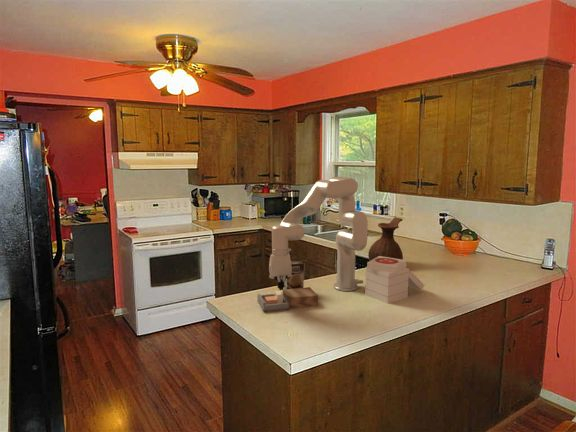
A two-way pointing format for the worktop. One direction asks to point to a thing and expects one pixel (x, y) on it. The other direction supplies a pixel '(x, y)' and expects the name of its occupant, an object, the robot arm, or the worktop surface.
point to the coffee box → (295, 276)
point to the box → (272, 306)
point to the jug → (387, 242)
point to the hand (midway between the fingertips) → (280, 289)
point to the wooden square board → (300, 297)
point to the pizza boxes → (389, 279)
